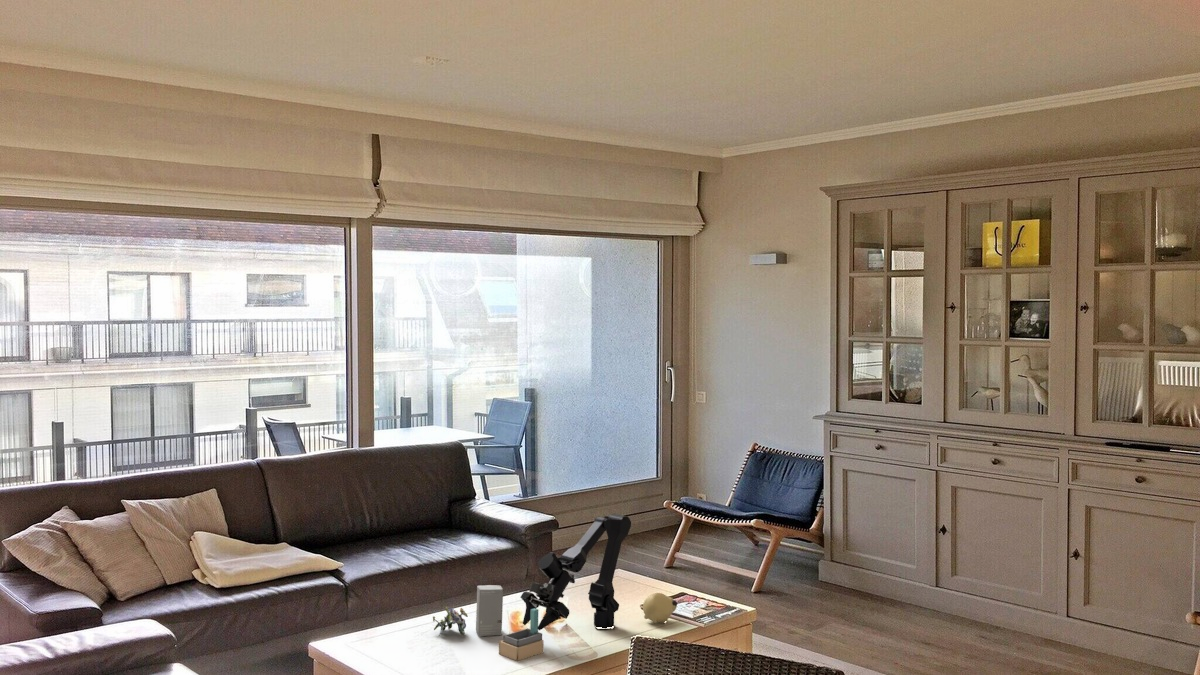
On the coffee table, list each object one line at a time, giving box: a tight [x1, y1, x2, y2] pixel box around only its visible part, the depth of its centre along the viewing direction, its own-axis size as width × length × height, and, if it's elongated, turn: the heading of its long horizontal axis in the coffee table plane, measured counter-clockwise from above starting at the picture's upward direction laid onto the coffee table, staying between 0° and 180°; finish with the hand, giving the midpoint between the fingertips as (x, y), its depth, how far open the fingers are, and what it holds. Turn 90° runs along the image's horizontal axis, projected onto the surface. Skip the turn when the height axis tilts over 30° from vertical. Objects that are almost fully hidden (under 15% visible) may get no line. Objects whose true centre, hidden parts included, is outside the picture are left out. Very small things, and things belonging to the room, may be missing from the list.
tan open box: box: [498, 639, 545, 662], centre depth 311 cm, size 11×9×4 cm
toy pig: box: [642, 592, 678, 624], centre depth 345 cm, size 10×12×11 cm
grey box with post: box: [502, 608, 543, 647], centre depth 312 cm, size 11×7×13 cm, turn 136°
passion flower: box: [432, 606, 468, 636], centre depth 329 cm, size 11×11×12 cm
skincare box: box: [475, 584, 504, 638], centre depth 331 cm, size 8×7×16 cm
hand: (531, 626), depth 314 cm, fingers open, 7 cm apart
